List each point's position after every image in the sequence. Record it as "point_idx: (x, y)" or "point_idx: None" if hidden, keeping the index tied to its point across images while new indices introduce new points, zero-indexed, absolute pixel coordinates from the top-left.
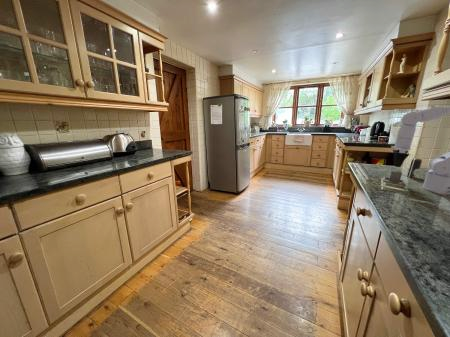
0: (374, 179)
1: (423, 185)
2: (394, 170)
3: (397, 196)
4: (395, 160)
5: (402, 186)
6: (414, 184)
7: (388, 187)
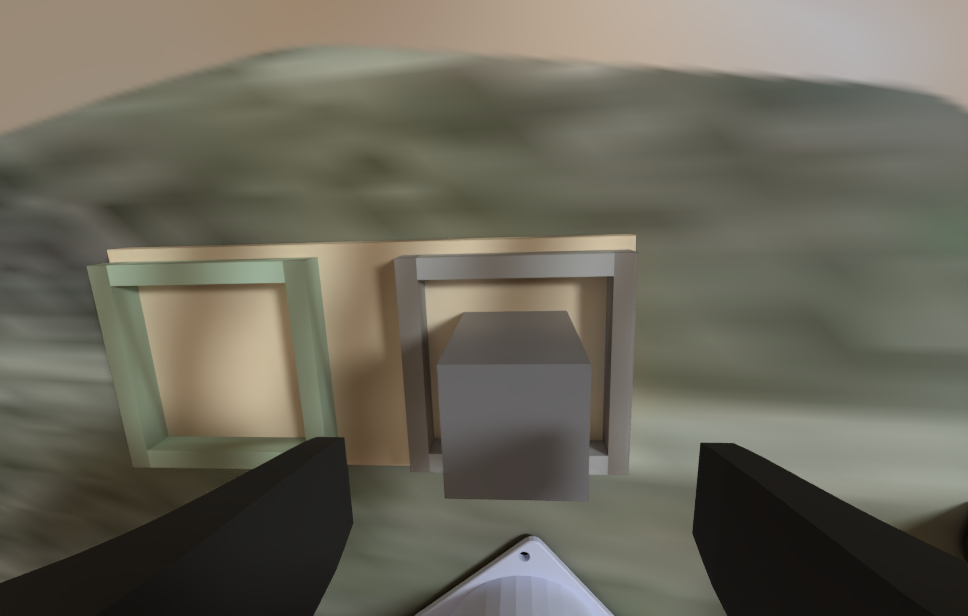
0: (602, 160)
1: (513, 606)
2: (562, 409)
3: (95, 372)
4: (173, 527)
5: (308, 432)
6: None
7: (106, 311)
